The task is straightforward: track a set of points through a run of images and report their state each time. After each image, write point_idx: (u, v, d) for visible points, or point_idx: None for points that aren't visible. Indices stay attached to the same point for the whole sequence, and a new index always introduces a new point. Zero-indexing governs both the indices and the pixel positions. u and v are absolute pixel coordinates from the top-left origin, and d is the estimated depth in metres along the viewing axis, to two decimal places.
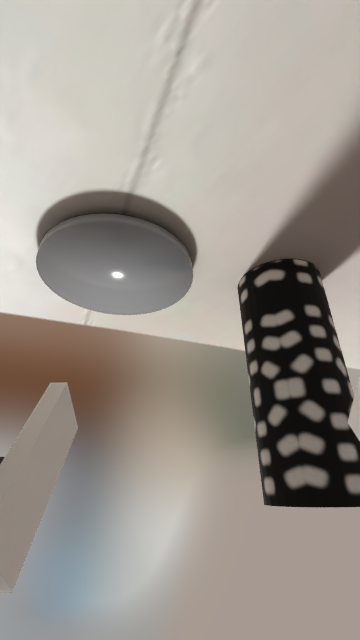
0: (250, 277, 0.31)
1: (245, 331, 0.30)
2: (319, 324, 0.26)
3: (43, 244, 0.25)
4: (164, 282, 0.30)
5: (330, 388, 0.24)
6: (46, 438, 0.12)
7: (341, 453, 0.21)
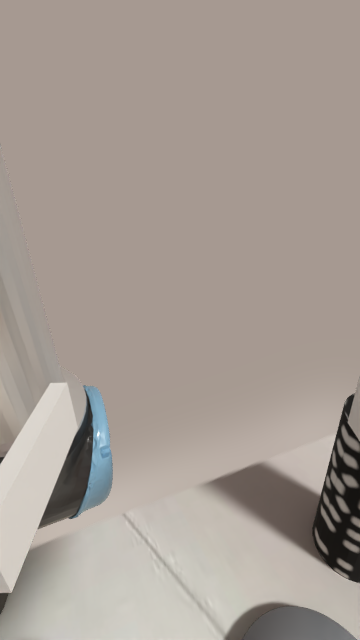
0: (329, 561, 0.36)
1: (358, 549, 0.32)
2: None
3: None
4: None
5: None
6: (46, 438, 0.12)
7: (338, 428, 0.33)
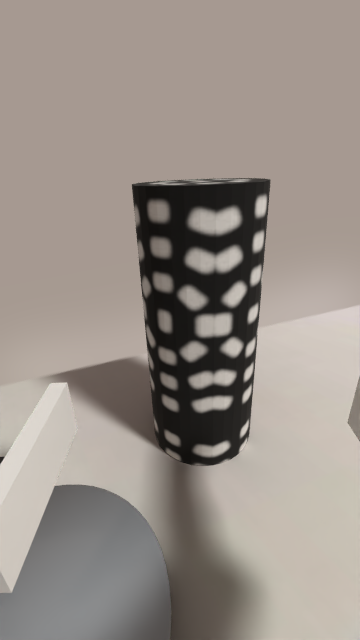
0: (161, 440, 0.26)
1: (177, 404, 0.22)
2: None
3: None
4: (93, 534, 0.18)
5: None
6: (46, 438, 0.12)
7: None
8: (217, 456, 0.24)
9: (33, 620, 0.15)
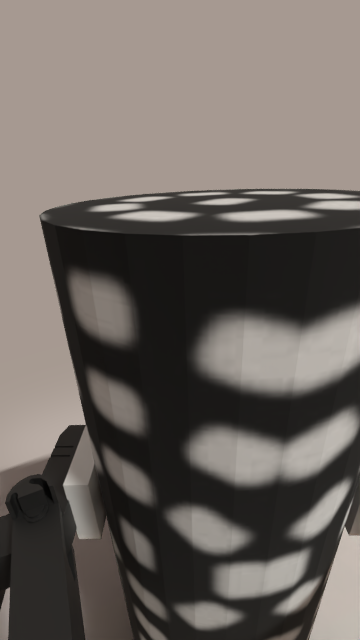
0: None
1: None
2: None
3: None
4: None
5: None
6: None
7: None
8: None
9: None
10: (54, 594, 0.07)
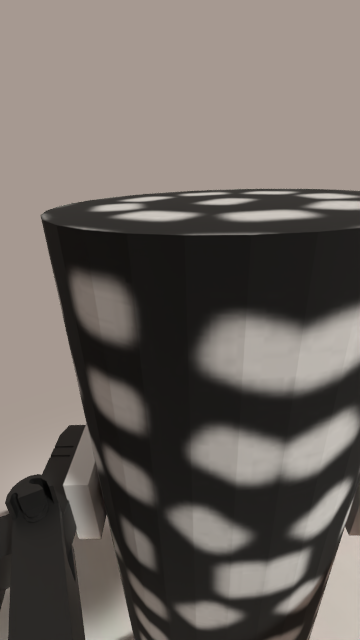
0: None
1: None
2: None
3: None
4: None
5: None
6: None
7: None
8: None
9: None
10: (54, 594, 0.07)
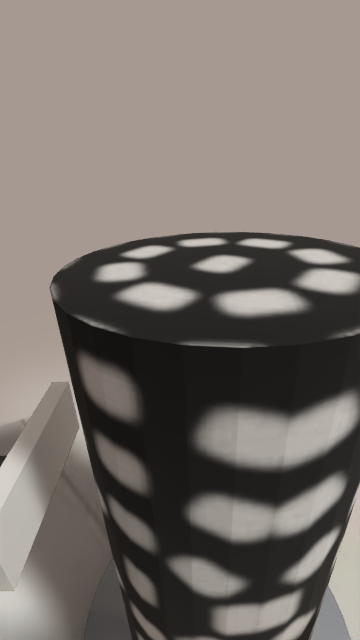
0: None
1: None
2: None
3: None
4: None
5: None
6: (48, 437, 0.12)
7: None
8: None
9: None
10: None
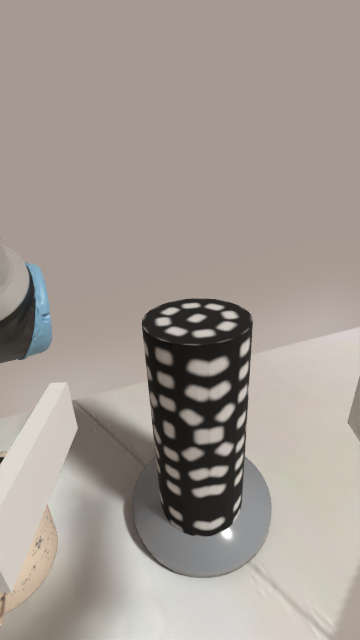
0: (165, 512, 0.30)
1: (179, 490, 0.26)
2: None
3: (137, 524, 0.30)
4: None
5: None
6: (46, 438, 0.12)
7: None
8: (214, 528, 0.28)
9: None
10: None
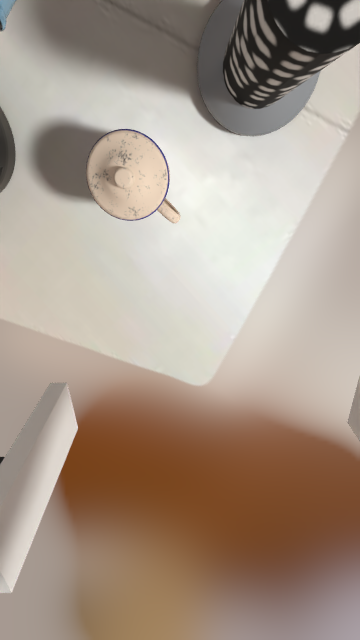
0: (237, 100, 0.36)
1: (263, 99, 0.32)
2: None
3: (215, 117, 0.38)
4: None
5: (243, 3, 0.24)
6: (46, 438, 0.12)
7: None
8: None
9: None
10: None
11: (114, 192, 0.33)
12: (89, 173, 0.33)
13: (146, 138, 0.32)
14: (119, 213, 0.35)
